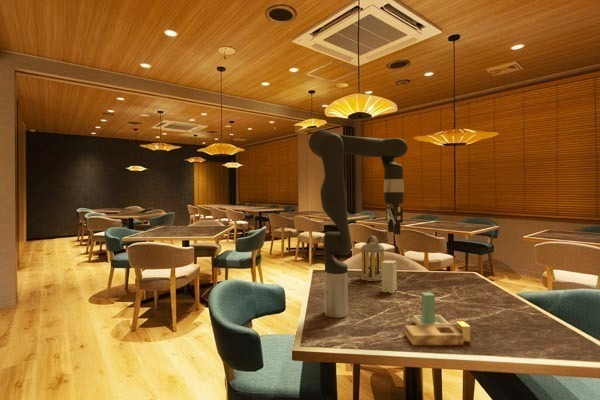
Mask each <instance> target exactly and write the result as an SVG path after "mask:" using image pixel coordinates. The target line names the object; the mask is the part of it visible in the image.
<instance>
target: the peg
mask: <svg viewBox="0 0 600 400" xmlns="http://www.w3.org/2000/svg"><path fill="white" fill-rule="evenodd" d="M421 315H422V323H423V324H435V315H436V295H435V294H434V293H433V292H421Z"/></svg>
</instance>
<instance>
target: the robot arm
mask: <svg viewBox="0 0 600 400" xmlns="http://www.w3.org/2000/svg"><path fill="white" fill-rule="evenodd" d="M308 147H309V149H310V151H311V152H312V153H313V154H314V155H316V156H317V157H319V158H321V160H322V163H323V164H322V165H323V170H324V171H323V172H324V180H323V182H322V184H321V187H320V193H319V194H320V201H321V207H322V210H323V212H324V213H325V214H326V216H327V217H329V219H330V221H332V222H333V223H334V224H335V226H336V227H337V229H338V230H339V231H327V232H325V233H324V235H323V254H324V255H323V257H324V259H323V260H324V261H323V262H324V290H323V293H324V294H323V295H324V315H325V317H329V318H333V319H334V318H336V319H339V318H346V317H348V316H349V291H348V290H349V289H348V288H349V287H348V286H349V282H348V281H349V279H348V278H349V276H348V275H349V273H348V270H349V269H348V264H347V263H345V262H342V261H340V260H338V259H337V258H336V257H335V256H334V255H336V256H347V255H349V254H350V253H351V251H352V238H351V231H350V226H349V219H348V218H349V217H348V207H347V205H348V203H347V202H348V201H347V193H346V184H345V174H344V169H345V168H344V166H345V165H344V162H345V161H344V159H345V158H344V157H345V156H344V155H345V154H348V155H355V156H359V157H366V158H380V159H381V163H382V166H383V170H384V171H383V177H384V178H383V179H384V180H383V181H384V182H383V203H384V204H388V205H386V206H385V221H386V223H387V232H388V233H393V234H394V235H401V225H402V224H403V222H404V220H403V214H404V213H403V212H404V211H403V209H404V208H403V206H400V204H402V205H403V204H404V203H405V186H404V185H405V184H404V167H403V165H402V164H400V163H397V162H396V160H395V159H396V158H401V157H403V156H405V155H406V154H407V152H408V144H407V142H406V141H405V140H404V139H402V138H399V137H395V138H394V137H393V138H377V137H363V136H352V135H345V134H344V135H343V134H339V133H335V132H332V131H331V130H328V129H319V130H316V131H314V132H313V133H312V134H311V136H310V137H309V139H308Z"/></svg>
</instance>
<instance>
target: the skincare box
mask: <svg viewBox="0 0 600 400" xmlns="http://www.w3.org/2000/svg"><path fill="white" fill-rule="evenodd" d="M397 272H398V271H397V260H388V259H387V260H385V259H384V261H383V262H382V263H381V275H382V282H381V293H382V292H383V293H387V292H389V293H388V294H394V293H395V292H396V291H397V289H398V282H397V281H398V277H397ZM395 290H396V291H395Z"/></svg>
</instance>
